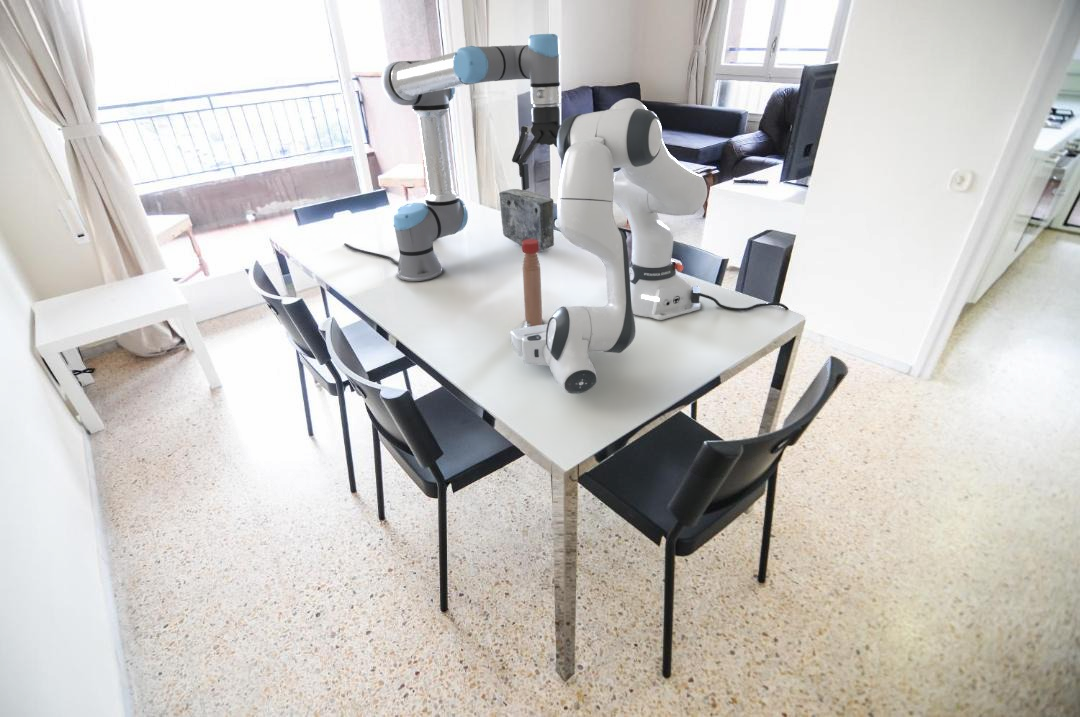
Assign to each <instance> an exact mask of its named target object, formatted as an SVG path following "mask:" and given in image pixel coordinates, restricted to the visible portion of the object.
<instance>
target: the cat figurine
mask: <svg viewBox="0 0 1080 717" xmlns="http://www.w3.org/2000/svg"><path fill="white" fill-rule="evenodd" d="M625 234H626V242H627V249H628V258H629V265H630V260H631V259H632V232H628V231H625Z"/></svg>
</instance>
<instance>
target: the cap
mask: <svg viewBox="0 0 1080 717" xmlns="http://www.w3.org/2000/svg"><path fill="white" fill-rule="evenodd" d="M521 249H522V253H524V254H525V253H526V254H534V253H536V254H538V253H539V252H540V250H539V243H538V240H536V239H526V240H523V241H522V246H521Z"/></svg>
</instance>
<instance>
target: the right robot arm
mask: <svg viewBox="0 0 1080 717" xmlns="http://www.w3.org/2000/svg"><path fill="white" fill-rule="evenodd" d="M556 148H557V149H556V150H557V153H558V156H559V158H560V160H561V161H562V164H561V168H560V169H561V170H560V173H559V174H560V175H559V182H558V188H557V204H556V220H557V221H556V223H557V226H558V229H559V231H560V233H561V235H563V237H565V239H566V240H567V241H569V242H570V243H571V244H573V245H574V246H576V247H578V248H581V249H582V250H584V251H587V252H589V253H591V254H592V255H594V256H596V257H597V258H598V259H599V260H601V262H602V263H603V266H604V269H605V279H606V288H607V289H606V292H607V304H606V305H605V306H581V305H577V306H575V305H574V306H572V305H571V306H570V305H569V306H564V305H563V306H561V307H559V308H558V309H557V310H556V311H555V312H554V313H553V314H552V316H551V317H550V318H549V320H548V322H547V323H544V324H542V325H537V326H531V325H530V322H529V321H526V320H525V321H523V325H522V327H519V328H513V329H511V330H510V332H509V339H510V345H511V346H512V348H513V350H514V351H515V353H516V354H517V355H518V356H520V357H522V360H523V363H524V364H525V365H539V366H547V367H549V370H550V372H551V374H552V376H553V378H554V379H555V381H556V383H557V384H558V385H559V386H560V388H561V389H563V391H565V392H567V393H569V394H573V395H577V394H578V395H579V394H584V393H586V392H588V391H590V390H591V389H592V388H594V386H595V385H596V384H597V381H598V374H597V371H596V368H595V366H594V364H593V362H592V359H590V356H589V352H590V353H591V352H604V353H614V354H620V353H623V352H624V351H625V350H626V349H627V348H628V347H629V346H631V344H632V343H633V342H634V340H635V338H636V322H635V317H634V315H635V316H639V317H646V318H651V319H654V320H656V321H663V320H666V319H670V318H674V317H677V316H681V315H686V314H688V313H692V312H696V311H699V310H701V302H700V297H702V298H704V299H708V300H711V301H713V302H714V303H715V305H717V306H718V307H720V308H721V309H724V310H728V311H735V312H737V311H738V312H745V311H751V310H753V309H756V308H759V307H770V306H777V307H781V308H783V309H784V310H786V311H789V310H790V309H789V307H788V306H786V305H785V304H783V303H781V302H766V303H768V304H766V303H765V302H763V303H757V304H753V305H750V306H748V307H732V306H727V305H724V304H722V303H720V302H719V301H718V300H717V299H716V298H714V297H713V296H711V295H709V294H705V293H701V289H700V286H699V285H691V283H690V282H688V281H687V280H686V279H685V278H684V277H683V276H682V275H680V274H679V273H680V272H682V271H683V270H684V267H685V266H684V265H683V264H681V263H680V262H676V261H675V260H673V258H672V257H673V249H674V241H675V240H674V239H675V238H674V235H673V234H674V233H673V232H672V230H671V229H670V228H669V227H668V226H667V225H666V224H664V223H663V222H662V221H661V219H660V217H659V214H661V215H668V216H676V217H677V216H692V215H693V216H694V215H696V214H697V213H698V212H699V211H700V210H702V208H703V206H704V205H705V203H706V200H707V197H708V186H707V183H706V180H705V178H704V177H703V176H702V175H700V174H698V173H696V172H693V170H690V169H688V168H686V167H685V166H684V165H683V164H681V162H679V161H678V160H677V159H676V158H675V157H674V156H673V155H672V154H671V153H670V152H669V151H668V148H667V147H666V145H665V143H664V141H663V128H662V122H661V120H660V117H658V116H657V114H656V113H655V112H654V111H652V110H649V109H647V107H646V106H645V105H644V103H643V102H641V101H640V100H638V99H636V98H634V97H633V98H631V97H627V98H622V99H619V100H618V101H616V102H615V103H614V104H612V105H611V107H610V108H609V109H606V110H600V111H593V112H589V113H588V112H587V113H577V114H574V115H571V116H568V117H566V118H565V119H564V120H563V122H562V123H561V126H560V128H559V130H558V134H557V147H556ZM618 168H619V170H618V171H617V172H616V173H615V174H614V169H618ZM614 203H615V204H616V205H617V206H618V207H619V208H620V210H622V212H623V214H624V215H625V217H626V219H627V222H628V225H629V227H630V233H631V234H632V259H631V260H630V265H629V258H628V249H627V247H628V246H627V242H626V240H627V237H626V235H625V233H624V232H623V231H622V230H621V229H619V227H618V225H617V223H616V220H615V216H614ZM676 271H677V272H676ZM678 272H679V273H678ZM530 326H531V327H530Z"/></svg>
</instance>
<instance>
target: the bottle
mask: <svg viewBox="0 0 1080 717" xmlns="http://www.w3.org/2000/svg"><path fill="white" fill-rule="evenodd" d="M522 262H523V263H522V282H523V300H524V317H525V318H524V319H525V322H526V321H529V322H530V325H531V326H537V325H543V305H542V304H543V302H542V278H541V277H542V276H541V263H540V260H539V256H538V253H534V254H526V253H524V256H523V261H522ZM531 326H530V327H531Z"/></svg>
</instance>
